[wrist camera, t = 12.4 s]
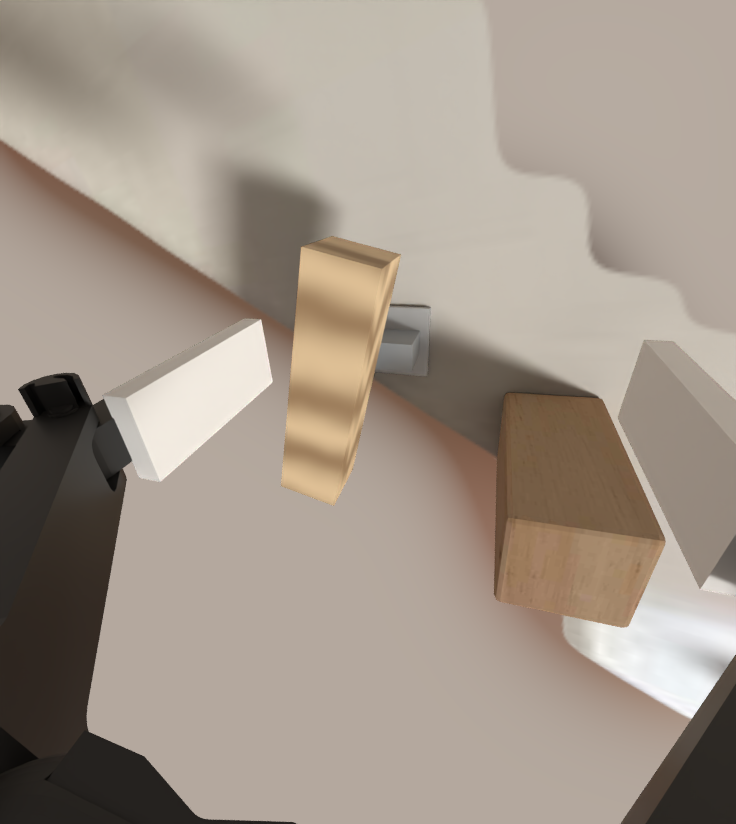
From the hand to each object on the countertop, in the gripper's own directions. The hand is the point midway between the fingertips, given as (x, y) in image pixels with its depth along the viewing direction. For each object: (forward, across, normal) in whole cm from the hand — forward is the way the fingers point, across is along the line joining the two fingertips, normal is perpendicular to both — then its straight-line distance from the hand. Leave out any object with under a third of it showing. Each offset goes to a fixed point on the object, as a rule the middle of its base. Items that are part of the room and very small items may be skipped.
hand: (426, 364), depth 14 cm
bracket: (+29, -11, -10) cm, 32 cm away
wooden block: (+29, +10, -20) cm, 37 cm away
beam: (+20, -11, -10) cm, 25 cm away
